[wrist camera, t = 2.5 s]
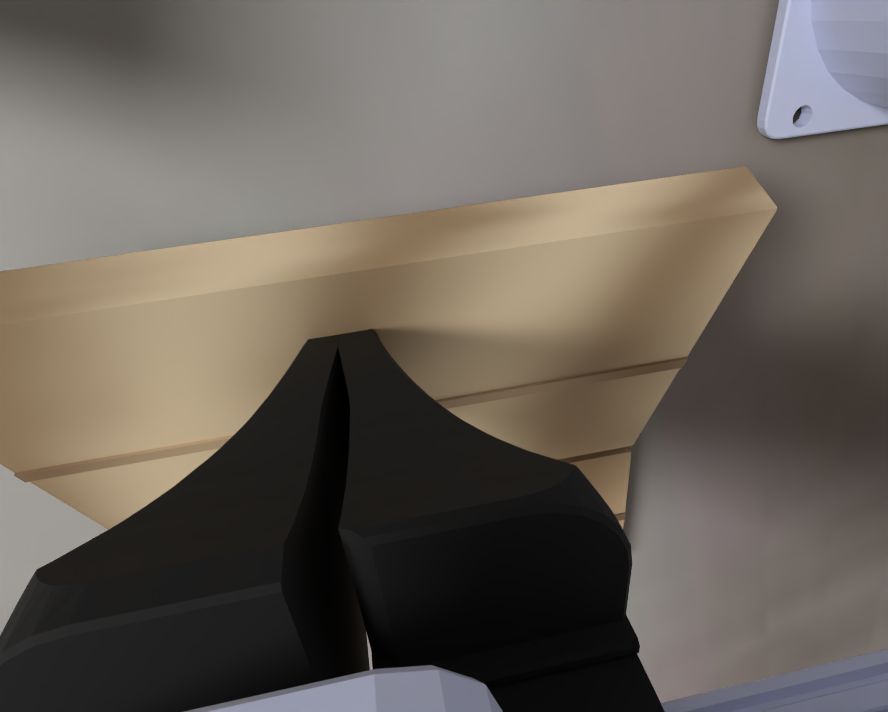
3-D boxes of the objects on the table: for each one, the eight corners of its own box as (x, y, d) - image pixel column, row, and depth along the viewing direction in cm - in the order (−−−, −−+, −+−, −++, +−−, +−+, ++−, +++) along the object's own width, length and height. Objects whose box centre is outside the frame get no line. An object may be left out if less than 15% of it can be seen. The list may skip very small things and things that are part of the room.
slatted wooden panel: (746, 165, 11) (779, 210, 10) (620, 413, 19) (633, 447, 19) (-154, 293, 9) (-187, 356, 9) (130, 501, 18) (125, 542, 17)
